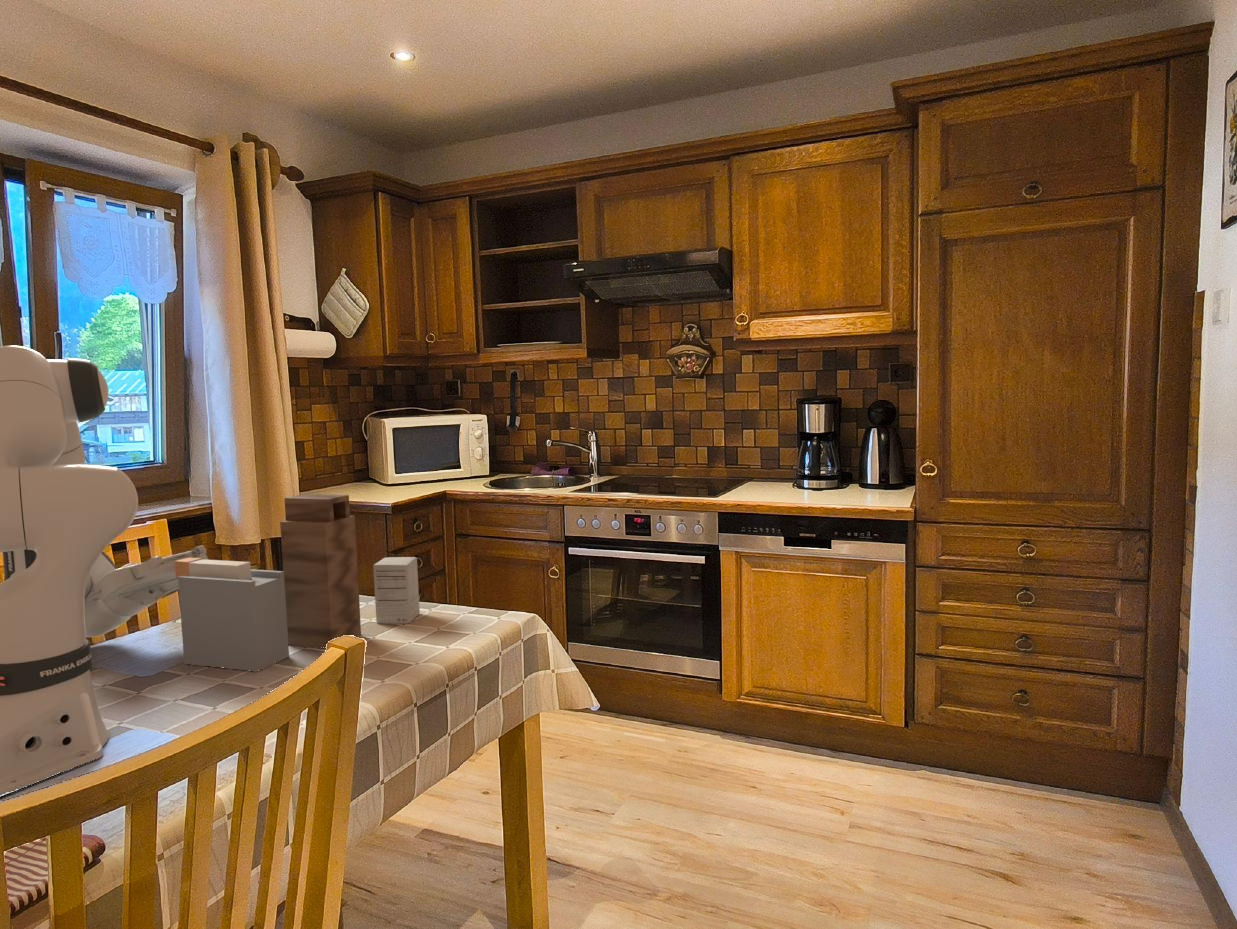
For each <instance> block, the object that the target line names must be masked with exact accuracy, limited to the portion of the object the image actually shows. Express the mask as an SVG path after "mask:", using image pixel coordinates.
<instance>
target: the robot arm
mask: <svg viewBox="0 0 1237 929" xmlns="http://www.w3.org/2000/svg"><path fill="white" fill-rule="evenodd" d="M108 399H109V386H108V382H107V380H106V378H105V376H104V374H103V373H102V372H101V370H100V369H99V368H98V365H96V364H95V363H94V362H92V361H91V360H89V359H84V358H75V357H74V358H71V357H68V358H67V359H50V358H49V359H47V358H46V356H43V354H41V353H40V352H38V351H36V350H34V349H32V348H29V347H25V346H22V345H3V346H0V553H2V560H3V576H4V577H3V581H1V582H0V795H2V794H5V793H6V792H11V791H15V790H16V789H20V788H23V787H25V786H28V785H29V784H33V783H35V782H37V781H41V780H44V779H45V778H47V777H50V776H52V775H55V774H57V773H59V772H63V771H66V772H68V771H69V770H68V769H71V768H73V769H75V768H74V767H76V766H78V767H80V766H79V765H81V766H83V765H85V764H84V763H86V764H88V763H91V762H93V761H95V759H96V760H98V759H100V758H101V757H103V755H104V749H103V747H104V746H105V744H106V743H107V742H108V741H109V738H110V733H109V731H108V729H107V727H106V725H105V723H104V721H103V718H102V716H101V713H100V709H99V706H98V703H97V700H96V699H97V698H96V696H95V691H94V687H93V682H92V675H91V673H92V667H93V656H92V654H93V653H92V647H91V642H90V641H89V640H88V639H87V638H96V637H100V636H103V635H105V634H108V633H110V632H112V631H114V630H115V629H117V628H119V627H120V626H122V625H124V624H125V623H126V622H128V621H129V620H130V619H131V617H134V616H136V615H138V614H139V613H141V612H143V611H144V610H146V609H148V608H149V607H150V606H153V605H154V604H155V603H157V602H158V601H159V600H161V599H164V598H166V597H168V596H171V595H173V594H175V593H176V592H179V586H178V579H176V574H175V561H177V560H181V559H185V558H189V557H190V558H202V559H204V560H209V558H208V556H207V555H206V554H207V549H206V548H205V546H204V545H198V546H194V548H192V549H191V550H188V551H185V552H180V553H177V554H176V553H175V554H172V555H168V556H165V557H162V556H161V555H156V556H153V557H150V558H149V559H148V560H146V561H144V562H141V563H140V562H130V563H127V564H124V565H123V566H121V567H120V568H118V567H117V566H116V564H115V562H114V561H113V560H112V558H111V557H110V556H109V555H108V554H107V553H105V552H104V551H105V549H106V548H107V547H109V545H110V544H111V543H112V542H113V541H114V540H116V539H117V538H118V537H120V536H121V535H122V534H124V533H125V532H126V531H127V530H128V529H129V527H131V525H132V523H133V522H134V520H135V518H136V515H137V512H138V509H139V496H138V492H137V489H136V486H135V484H134V483H133V482H132V481H133V480H131V479H130V477H129V476H128V475H127V474H126V473H125V472H124V471H122V470H121V469H120V468H118V467H116V466H115V467H114V466H109V465H108V466H107V465H100V464H99V465H98V464H86V454H85V453H86V452H85V449H84V448H85V447H84V444H83V440H82V437H81V432H80V429H79V428H80V427H79V425H78V422H79V423H83V422H87V421H91V420H94V419H97V418H99V417H100V416H101V415H102V414H103V413H104V412H105V411H106V406H107V403H108ZM92 760H93V761H92ZM90 761H91V762H90ZM87 762H88V763H87ZM82 764H83V765H82ZM76 768H77V767H76ZM67 770H68V771H67ZM71 770H72V769H71ZM63 773H64V772H63ZM44 781H45V780H44ZM41 782H42V781H41Z"/></svg>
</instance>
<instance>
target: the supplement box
mask: <svg viewBox="0 0 1237 929" xmlns="http://www.w3.org/2000/svg"><path fill="white" fill-rule="evenodd" d="M372 565H373V568H372V569H373V581H374V582H373V583H374V584H373V585H374V601H375V616H376V617H375V618H376V620H375V621H376V623H377V624H411V622H412V621H413V620H414V619H415V618H416V617H417V616H418V615H419V614H420V612H421V611H420V595H419V594H420V592H419V578H418V577H419V576H418V575H419V574H418V573H419V572H418V558H417V557H415V556H398V557H397V556H396V557H395V556H393V557H392V556H391V557H383V558H382V559H381V560H379V561H377V562H376V563H374V564H372Z"/></svg>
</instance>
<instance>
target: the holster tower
mask: <svg viewBox="0 0 1237 929" xmlns="http://www.w3.org/2000/svg"><path fill="white" fill-rule="evenodd" d="M283 499H284V513H285V514H284V515H285V520H281V521H280V522H279V524H280V526H279V527H280V528H279V529H280V539H281V554H282V556H281V557H282V558H281V560H282V571H284V582H285V598H286V614H287V629H288V644H289V646H292V645H294V647H302V648H313V647H318V648H317V649H323V647H324V649H325V647H326V644H327V643H328V641H330V640H332V639H334V638H337V637H341V636H343V635H354V636H357V637H359V636H361V635H362V623H361V622H362V621H361V607H360V605H361V604H360V591H359V590H360V589H359V587H360V584H359V568H358V553H357V552H358V551H357V548H358V547H357V530H356V517H355V515H351V513H350V512H351V511H350V510H351V509H350V495H349V494H326V493H325V494H324V493H323V494H322V493H321V494H320V493H303V494H300V495H299V494H298V495H294V496H288V497H284V498H283ZM360 634H361V635H360ZM321 647H322V648H321ZM325 650H326V649H325Z"/></svg>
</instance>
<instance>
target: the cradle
mask: <svg viewBox="0 0 1237 929" xmlns="http://www.w3.org/2000/svg"><path fill="white" fill-rule="evenodd" d="M178 586H179V591H178V596H179V599H178V600H179V608H180V611H179V613H180V625H181V634H182V635H181V637H182V650H183V663H184V665H187V664H192V665H191V666H196V665H197V666H199V667H205V666H211V667H210V668H214V667H224V668H230V669H229V670H232V669H239V670H238V671H241V670H248V671H247V672H250V671H255V672H254V673H258V672H259V671H258V670H261V669H263V668H265V667H267V668H269V667H271V666H273V665H275V664H276V663H275V662H277V663H279V662H281V660H282V661H284V660H286V659H288V658H290V649H289V646H290V645H288V629H287V614H286V598H285V582H284V571H283V570H268V569H267V570H266V569H254V568H251V579H248V580H239V579H224V578H209V577H195V576H180V577H178ZM287 657H288V658H287ZM285 658H286V659H285ZM283 659H284V660H283ZM278 661H279V662H278ZM274 663H275V664H274ZM272 664H273V665H272ZM270 665H271V666H270ZM268 666H269V667H268ZM265 669H266V668H265ZM249 670H250V671H249ZM263 670H264V669H263ZM257 671H258V672H257ZM261 671H262V670H261Z"/></svg>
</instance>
